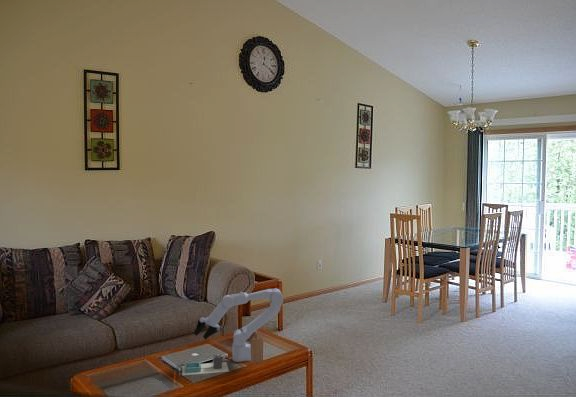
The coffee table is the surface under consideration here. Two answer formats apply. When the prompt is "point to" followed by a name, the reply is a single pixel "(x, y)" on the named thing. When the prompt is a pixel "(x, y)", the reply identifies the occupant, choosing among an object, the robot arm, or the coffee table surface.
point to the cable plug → (217, 361)
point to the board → (202, 368)
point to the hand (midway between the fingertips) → (199, 336)
